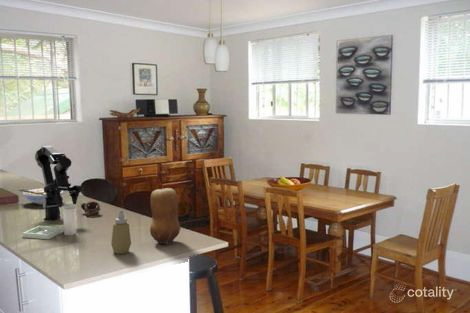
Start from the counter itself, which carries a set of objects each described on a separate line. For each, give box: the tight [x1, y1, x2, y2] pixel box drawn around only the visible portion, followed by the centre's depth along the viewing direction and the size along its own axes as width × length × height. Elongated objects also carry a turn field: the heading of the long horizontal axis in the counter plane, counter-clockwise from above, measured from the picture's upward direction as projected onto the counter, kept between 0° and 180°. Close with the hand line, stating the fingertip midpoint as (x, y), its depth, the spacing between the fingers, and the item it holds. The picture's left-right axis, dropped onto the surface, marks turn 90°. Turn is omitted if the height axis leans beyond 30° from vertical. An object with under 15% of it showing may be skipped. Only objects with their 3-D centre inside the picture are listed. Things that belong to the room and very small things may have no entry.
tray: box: [22, 225, 64, 240], centre depth 207 cm, size 13×13×3 cm
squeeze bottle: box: [110, 209, 132, 255], centre depth 186 cm, size 8×8×18 cm
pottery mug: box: [80, 200, 101, 217], centre depth 249 cm, size 12×10×8 cm
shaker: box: [62, 203, 77, 236], centre depth 209 cm, size 5×5×14 cm
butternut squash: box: [149, 187, 182, 245], centre depth 199 cm, size 14×13×25 cm
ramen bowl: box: [18, 188, 64, 206], centre depth 273 cm, size 25×23×8 cm
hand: (66, 205), depth 217 cm, fingers open, 9 cm apart
